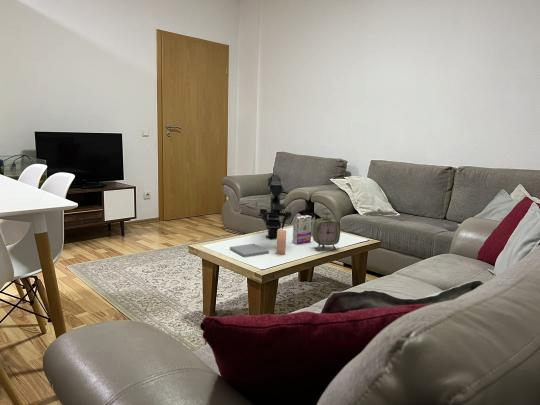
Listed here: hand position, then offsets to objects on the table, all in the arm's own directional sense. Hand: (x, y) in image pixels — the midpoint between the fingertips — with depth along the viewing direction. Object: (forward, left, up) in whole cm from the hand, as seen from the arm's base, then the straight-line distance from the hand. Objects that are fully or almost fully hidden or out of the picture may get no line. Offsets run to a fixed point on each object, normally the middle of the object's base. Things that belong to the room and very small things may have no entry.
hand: (274, 228), depth 248 cm
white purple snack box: (-20, +38, -13) cm, 45 cm away
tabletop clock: (+12, +28, -13) cm, 33 cm away
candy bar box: (-5, +24, -13) cm, 28 cm away
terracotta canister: (+8, -1, -13) cm, 15 cm away
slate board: (-3, -15, -13) cm, 20 cm away
